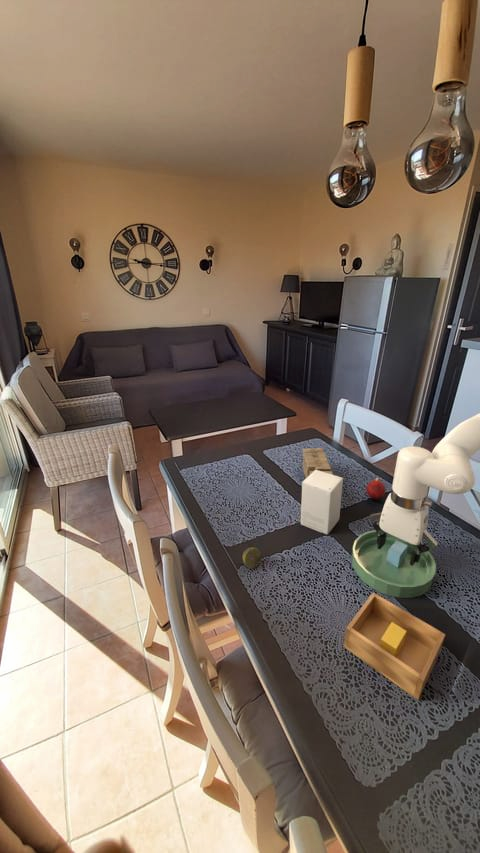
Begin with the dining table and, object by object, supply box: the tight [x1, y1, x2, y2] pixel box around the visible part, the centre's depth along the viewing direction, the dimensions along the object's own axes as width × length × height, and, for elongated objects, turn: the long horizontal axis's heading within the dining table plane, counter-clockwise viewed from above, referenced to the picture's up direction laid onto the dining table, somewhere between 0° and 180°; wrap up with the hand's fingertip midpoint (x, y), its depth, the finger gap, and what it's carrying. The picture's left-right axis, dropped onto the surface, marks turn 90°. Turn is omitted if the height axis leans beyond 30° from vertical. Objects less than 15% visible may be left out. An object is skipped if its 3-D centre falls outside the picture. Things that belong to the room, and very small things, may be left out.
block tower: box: [302, 447, 334, 479], centre depth 124 cm, size 8×8×29 cm
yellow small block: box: [380, 622, 407, 657], centre depth 71 cm, size 3×5×4 cm, turn 136°
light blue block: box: [386, 540, 408, 568], centre depth 93 cm, size 3×5×4 cm, turn 136°
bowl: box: [351, 529, 437, 599], centre depth 91 cm, size 19×19×4 cm
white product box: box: [300, 470, 344, 535], centre depth 106 cm, size 9×9×15 cm
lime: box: [242, 547, 262, 570], centre depth 93 cm, size 4×5×5 cm
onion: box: [365, 477, 386, 501], centre depth 117 cm, size 6×6×8 cm
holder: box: [343, 592, 446, 701], centre depth 71 cm, size 15×12×6 cm
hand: (396, 553), depth 93 cm, fingers open, 7 cm apart
